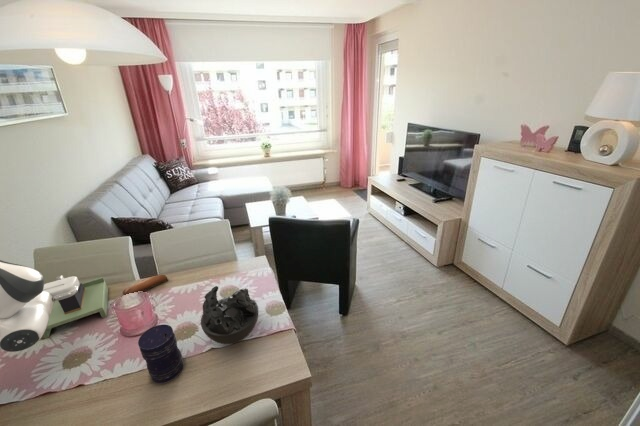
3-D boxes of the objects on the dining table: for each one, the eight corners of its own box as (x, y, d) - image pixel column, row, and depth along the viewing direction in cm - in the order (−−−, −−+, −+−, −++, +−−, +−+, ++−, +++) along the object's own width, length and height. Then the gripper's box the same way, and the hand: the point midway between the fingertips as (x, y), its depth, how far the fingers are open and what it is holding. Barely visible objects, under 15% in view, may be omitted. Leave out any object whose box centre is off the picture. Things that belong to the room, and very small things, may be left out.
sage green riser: (43, 339, 111) (35, 325, 108) (53, 306, 128) (47, 293, 125) (106, 316, 120) (100, 303, 117) (108, 288, 137) (103, 276, 134)
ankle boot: (64, 314, 115) (52, 290, 110) (69, 293, 127) (58, 271, 122) (81, 309, 118) (70, 284, 113) (85, 289, 130) (74, 266, 125)
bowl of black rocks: (268, 343, 104) (261, 301, 97) (209, 366, 96) (198, 323, 89) (254, 308, 121) (247, 271, 113) (203, 326, 113) (192, 286, 105)
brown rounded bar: (161, 274, 146) (161, 266, 141) (168, 284, 143) (168, 277, 139) (120, 292, 134) (119, 285, 129) (127, 304, 131) (126, 297, 127)
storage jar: (146, 386, 91) (131, 351, 85) (157, 359, 100) (144, 326, 94) (179, 380, 92) (167, 346, 86) (187, 354, 101) (177, 322, 95)
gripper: (73, 284, 90) (77, 264, 101) (-20, 311, 81) (-4, 285, 91) (80, 301, 93) (84, 279, 104) (-9, 329, 83) (6, 301, 94)
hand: (42, 282), depth 97 cm, fingers open, 8 cm apart
